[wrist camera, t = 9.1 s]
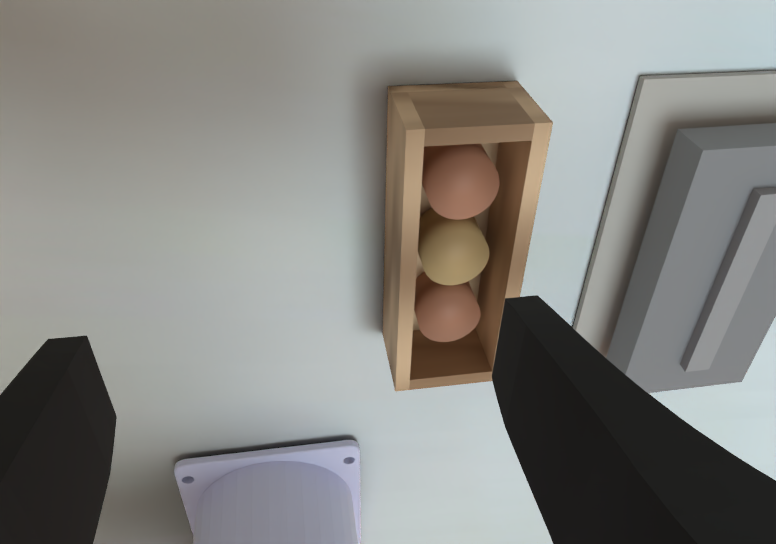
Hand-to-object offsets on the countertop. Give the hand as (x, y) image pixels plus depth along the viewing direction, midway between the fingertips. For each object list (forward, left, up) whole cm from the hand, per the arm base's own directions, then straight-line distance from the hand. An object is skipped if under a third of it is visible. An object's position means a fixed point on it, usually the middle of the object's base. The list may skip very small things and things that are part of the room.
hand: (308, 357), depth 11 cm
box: (-4, -5, -10) cm, 12 cm away
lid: (-6, -15, -9) cm, 18 cm away
